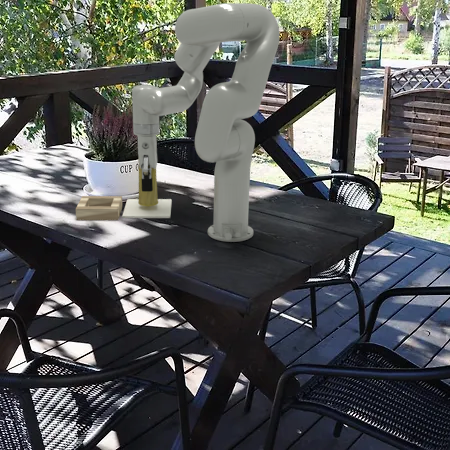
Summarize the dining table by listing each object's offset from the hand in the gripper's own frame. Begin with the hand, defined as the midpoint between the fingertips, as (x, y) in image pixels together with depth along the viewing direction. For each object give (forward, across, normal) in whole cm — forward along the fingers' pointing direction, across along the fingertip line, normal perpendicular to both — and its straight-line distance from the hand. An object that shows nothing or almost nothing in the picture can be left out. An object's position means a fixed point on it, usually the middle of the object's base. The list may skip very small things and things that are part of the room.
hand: (147, 187), depth 182 cm
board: (+7, 0, 0) cm, 7 cm away
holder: (+7, -4, +14) cm, 16 cm away
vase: (+5, 0, 0) cm, 5 cm away
